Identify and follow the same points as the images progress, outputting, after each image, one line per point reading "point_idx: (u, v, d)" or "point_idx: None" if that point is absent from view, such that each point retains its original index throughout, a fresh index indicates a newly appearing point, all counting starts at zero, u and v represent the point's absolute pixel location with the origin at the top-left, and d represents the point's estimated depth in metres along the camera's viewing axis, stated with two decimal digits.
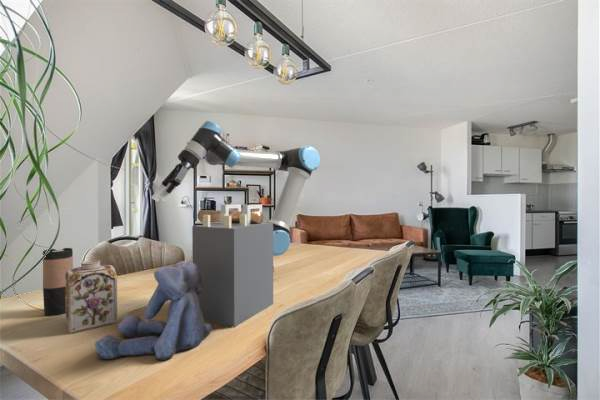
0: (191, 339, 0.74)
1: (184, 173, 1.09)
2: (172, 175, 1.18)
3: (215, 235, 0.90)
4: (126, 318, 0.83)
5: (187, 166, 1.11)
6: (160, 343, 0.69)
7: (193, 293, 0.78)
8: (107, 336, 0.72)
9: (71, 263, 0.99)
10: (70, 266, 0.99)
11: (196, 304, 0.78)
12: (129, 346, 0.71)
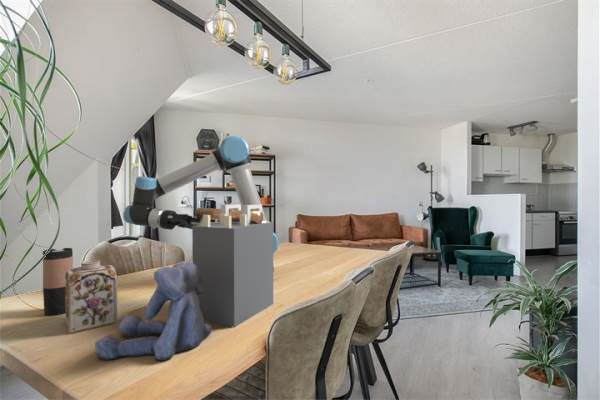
0: (191, 339, 0.74)
1: (177, 215, 1.13)
2: (191, 226, 1.24)
3: (215, 235, 0.90)
4: (127, 318, 0.82)
5: (170, 216, 1.15)
6: (159, 343, 0.69)
7: (193, 293, 0.78)
8: (107, 336, 0.72)
9: (71, 263, 0.99)
10: (70, 266, 0.99)
11: (196, 304, 0.77)
12: (128, 346, 0.71)
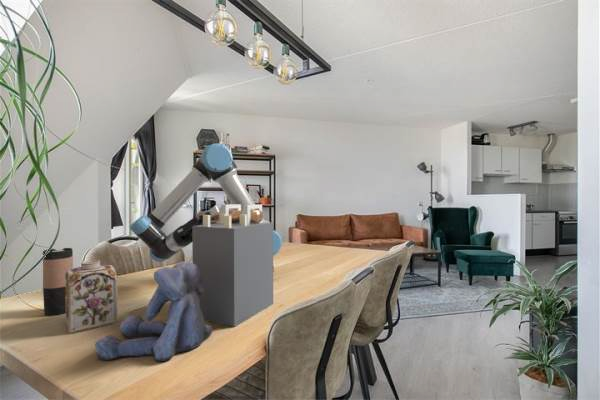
0: (191, 340, 0.73)
1: (186, 224, 1.09)
2: None
3: (215, 235, 0.90)
4: (128, 318, 0.82)
5: (180, 229, 1.10)
6: (159, 344, 0.69)
7: (193, 294, 0.78)
8: (107, 336, 0.72)
9: (71, 263, 0.99)
10: (70, 266, 0.99)
11: (196, 305, 0.77)
12: (128, 347, 0.71)
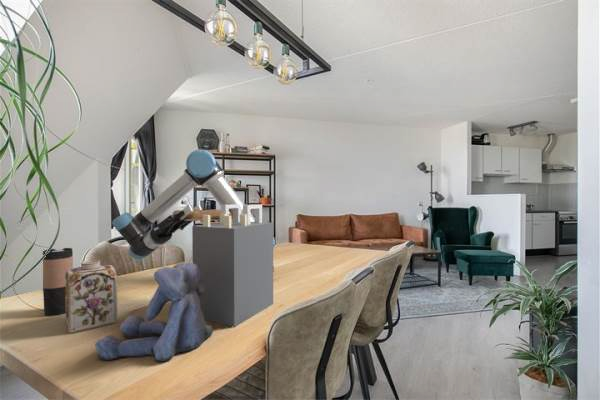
0: (191, 341, 0.73)
1: (162, 223, 1.14)
2: (178, 224, 1.20)
3: (215, 235, 0.90)
4: (128, 318, 0.82)
5: (156, 228, 1.15)
6: (159, 344, 0.69)
7: (194, 294, 0.78)
8: (107, 336, 0.72)
9: (71, 263, 0.99)
10: (70, 266, 0.99)
11: (196, 305, 0.77)
12: (128, 347, 0.71)
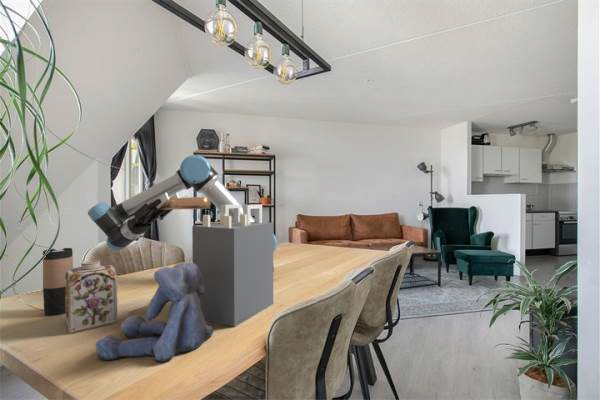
0: (191, 341, 0.73)
1: (137, 211, 1.09)
2: (156, 214, 1.16)
3: (215, 235, 0.90)
4: (129, 318, 0.82)
5: (132, 217, 1.10)
6: (159, 344, 0.69)
7: (194, 294, 0.77)
8: (108, 336, 0.72)
9: (71, 263, 0.99)
10: (70, 266, 0.99)
11: (197, 305, 0.76)
12: (129, 347, 0.70)
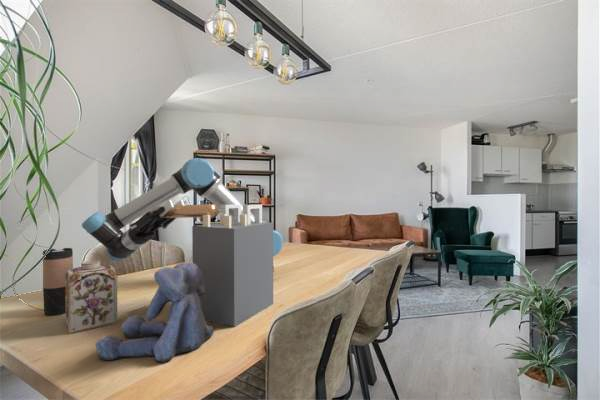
0: (191, 341, 0.73)
1: (139, 220, 1.01)
2: (159, 222, 1.08)
3: (215, 235, 0.90)
4: (129, 318, 0.82)
5: (134, 226, 1.02)
6: (159, 345, 0.69)
7: (194, 294, 0.77)
8: (108, 336, 0.72)
9: (71, 263, 0.99)
10: (71, 266, 0.99)
11: (197, 306, 0.76)
12: (129, 347, 0.70)
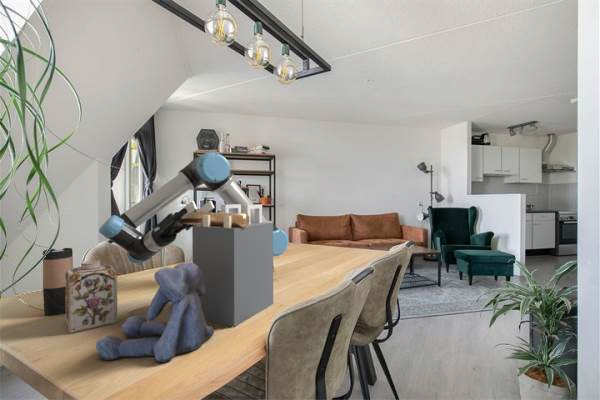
0: (192, 342, 0.73)
1: (162, 222, 0.97)
2: None
3: (215, 235, 0.90)
4: (130, 318, 0.82)
5: (157, 228, 0.98)
6: (159, 345, 0.68)
7: (194, 295, 0.77)
8: (108, 336, 0.71)
9: (71, 263, 0.99)
10: (70, 266, 0.99)
11: (197, 306, 0.76)
12: (129, 347, 0.70)
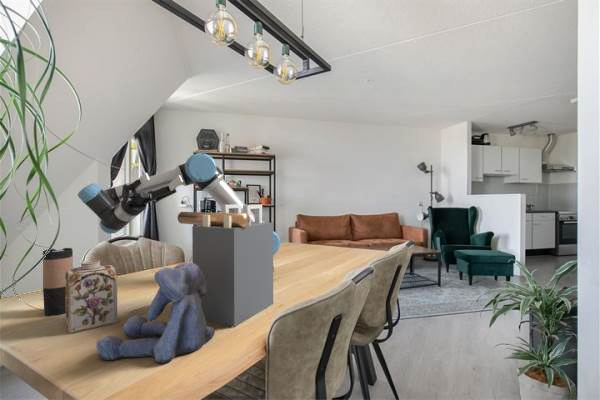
0: (192, 342, 0.72)
1: (122, 193, 1.03)
2: (155, 195, 1.13)
3: (215, 235, 0.90)
4: (131, 318, 0.82)
5: (121, 198, 1.05)
6: (159, 345, 0.68)
7: (195, 295, 0.77)
8: (109, 337, 0.71)
9: (71, 263, 0.99)
10: (70, 266, 0.99)
11: (198, 306, 0.76)
12: (129, 348, 0.70)
